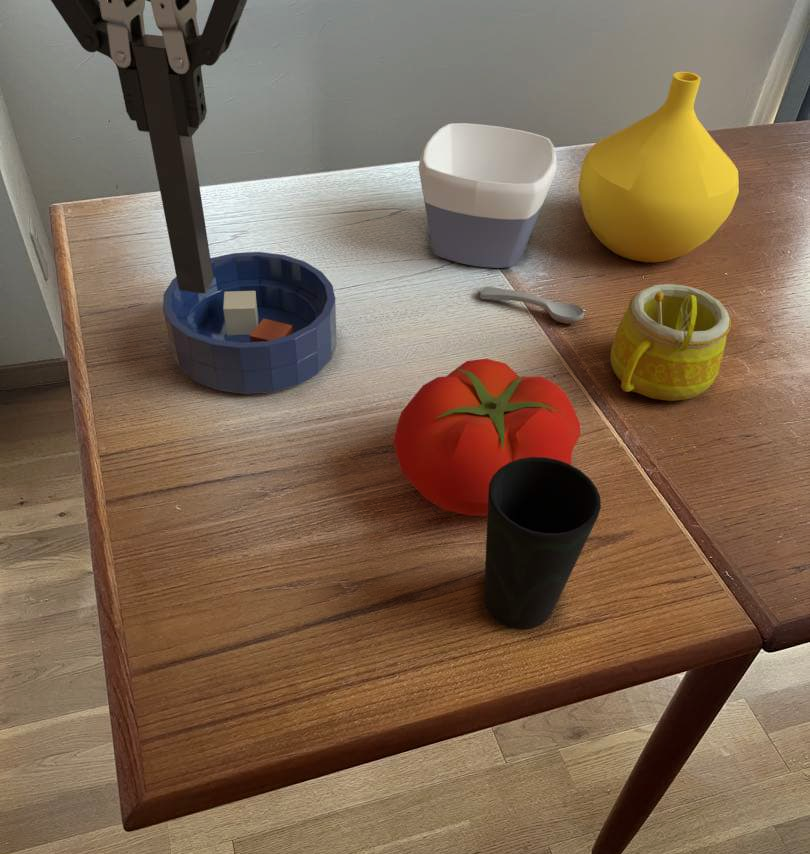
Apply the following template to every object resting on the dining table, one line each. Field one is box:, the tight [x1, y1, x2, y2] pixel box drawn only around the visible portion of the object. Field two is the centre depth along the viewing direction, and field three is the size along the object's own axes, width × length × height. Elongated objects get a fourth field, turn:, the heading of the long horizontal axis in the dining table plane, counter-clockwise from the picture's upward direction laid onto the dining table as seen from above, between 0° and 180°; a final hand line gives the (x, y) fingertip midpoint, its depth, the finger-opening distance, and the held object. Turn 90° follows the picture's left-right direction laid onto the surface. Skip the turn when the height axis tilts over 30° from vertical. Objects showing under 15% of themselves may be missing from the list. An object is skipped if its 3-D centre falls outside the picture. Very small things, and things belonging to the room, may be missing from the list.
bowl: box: [418, 122, 558, 269], centre depth 97 cm, size 15×15×11 cm
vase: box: [577, 71, 740, 263], centre depth 96 cm, size 18×18×19 cm
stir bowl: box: [162, 251, 337, 395], centre depth 83 cm, size 17×17×6 cm
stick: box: [133, 33, 214, 293], centre depth 54 cm, size 2×2×16 cm
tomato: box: [392, 358, 581, 516], centre depth 70 cm, size 14×16×10 cm
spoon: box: [479, 286, 585, 324], centre depth 91 cm, size 3×12×2 cm, turn 64°
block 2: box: [250, 319, 293, 342], centre depth 82 cm, size 3×3×3 cm
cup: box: [483, 457, 602, 630], centre depth 60 cm, size 8×8×12 cm
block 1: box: [223, 291, 258, 335], centre depth 85 cm, size 3×3×3 cm
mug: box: [609, 283, 732, 402], centre depth 80 cm, size 13×11×12 cm
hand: (170, 128), depth 52 cm, fingers closed on stick, 2 cm apart
